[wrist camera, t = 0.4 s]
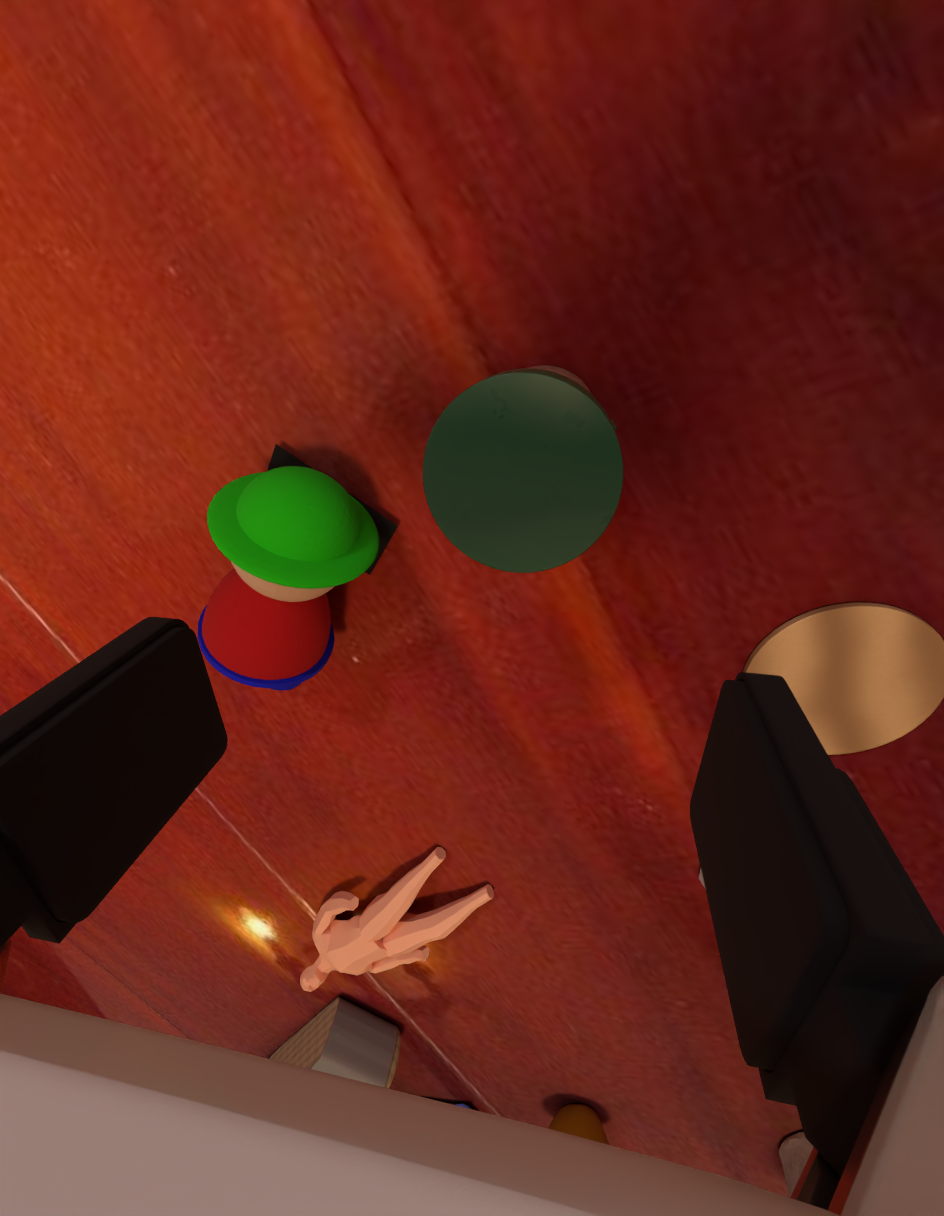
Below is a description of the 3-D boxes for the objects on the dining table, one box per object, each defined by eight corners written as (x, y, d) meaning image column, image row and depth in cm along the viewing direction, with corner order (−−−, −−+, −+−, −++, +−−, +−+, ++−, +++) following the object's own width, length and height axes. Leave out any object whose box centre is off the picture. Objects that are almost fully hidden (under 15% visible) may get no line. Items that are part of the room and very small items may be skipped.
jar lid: (570, 323, 17) (568, 323, 16) (652, 507, 20) (658, 522, 18) (399, 432, 20) (385, 441, 19) (490, 581, 23) (483, 600, 21)
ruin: (316, 1101, 80) (196, 1473, 53) (255, 1071, 79) (101, 1437, 52) (421, 1010, 66) (331, 1453, 39) (349, 973, 65) (205, 1403, 38)
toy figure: (351, 636, 40) (417, 481, 30) (300, 738, 33) (365, 577, 23) (238, 587, 39) (269, 407, 29) (160, 683, 32) (166, 487, 22)
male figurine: (506, 934, 45) (339, 1023, 55) (510, 882, 49) (355, 973, 59) (414, 865, 43) (257, 971, 52) (427, 817, 47) (279, 923, 57)
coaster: (924, 571, 28) (929, 575, 27) (963, 720, 31) (969, 726, 31) (714, 643, 32) (716, 647, 32) (770, 767, 36) (772, 772, 35)
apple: (550, 1084, 64) (545, 1185, 57) (619, 1103, 64) (623, 1210, 56) (538, 1110, 69) (532, 1208, 61) (602, 1129, 68) (604, 1230, 60)
